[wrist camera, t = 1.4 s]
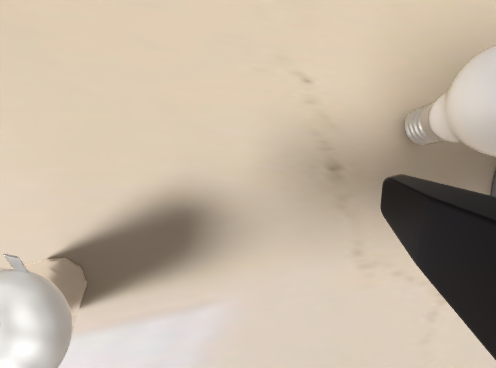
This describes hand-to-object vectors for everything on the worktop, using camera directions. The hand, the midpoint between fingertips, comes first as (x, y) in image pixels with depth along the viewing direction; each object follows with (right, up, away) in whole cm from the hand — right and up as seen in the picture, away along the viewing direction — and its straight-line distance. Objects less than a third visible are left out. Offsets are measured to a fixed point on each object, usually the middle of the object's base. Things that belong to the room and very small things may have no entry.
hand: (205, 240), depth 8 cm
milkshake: (-10, -4, +13) cm, 17 cm away
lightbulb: (+13, +5, +20) cm, 25 cm away
